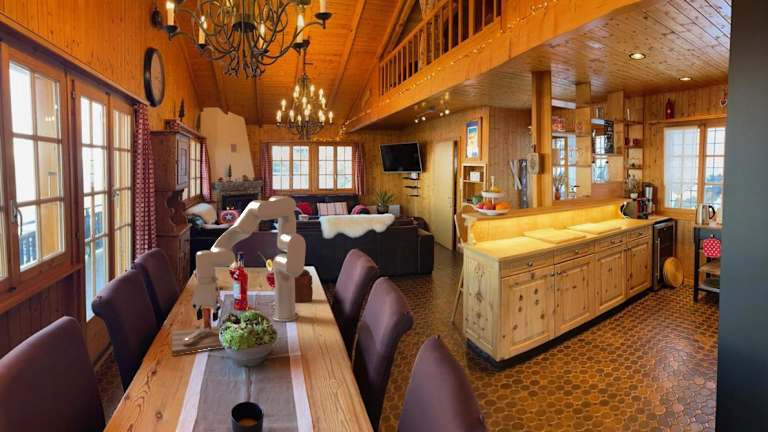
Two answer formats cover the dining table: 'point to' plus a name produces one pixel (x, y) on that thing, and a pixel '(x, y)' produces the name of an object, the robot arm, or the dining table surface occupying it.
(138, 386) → the dining table surface
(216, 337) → the lever board
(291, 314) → the robot arm
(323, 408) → the dining table surface
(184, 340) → the lever
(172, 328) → the dining table surface
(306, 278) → the wooden figurine
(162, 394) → the dining table surface
